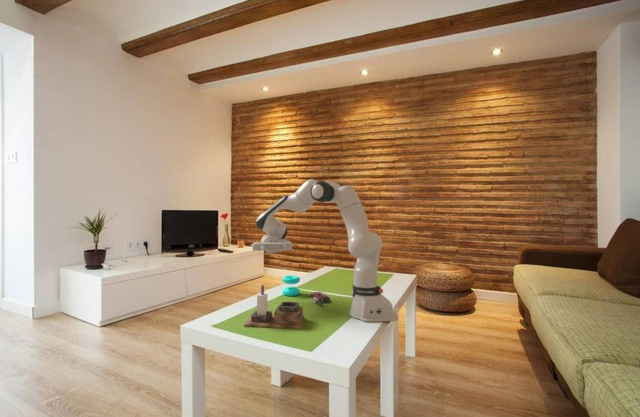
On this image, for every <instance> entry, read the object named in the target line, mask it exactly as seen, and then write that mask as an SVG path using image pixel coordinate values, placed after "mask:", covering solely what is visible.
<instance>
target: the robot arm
mask: <svg viewBox="0 0 640 417" xmlns="http://www.w3.org/2000/svg"><path fill="white" fill-rule="evenodd" d="M315 202H318V203H327V204H330V203H335V204H336V205H337V207H338V209H339V212H340V215H341V218H342V219H343V223H344V226H345V228H346V233H347V237H348V238H347V239H348V244H347V248H348V252H349V253H350V255H352V257H355V258H356V261H355V265H354V266H353V284H352V286H351V287H352V288H351V297H352V300H351V301H352V302H351V306H350V310H349V312H348V313H349V316H350V317H352V318H355V319H358V320H361V321H362V322H365V323H369V322H372V323H375V322H397V320H398V319H399V316H398V313H397V312H396V311H395V310H394V308H393V305H392V303H391V301H390V299H388V298H387V297H386V296H384V295H383V293H384V289H383V288H382V287H381V286H380V285H378V267H379V262H380V256H381V250H382V247H383V240H382V238H381V236H380V235H379V234H378V233H375V232H373V231H370V229H369V225H368V216H367V214H366V211H365V209H364V207H363V203H362V202H361V199H360V197H359V196H358V194H357V192H356V191H355V189H354V187H353V186H352V185H343V184H342V183H340V182H337V181H331V180H318V181H317V180H315V179H313V178H310V179H307V180H306V181H305V182H304V183H302V184H301V185H300V186H299V187H298V188H297V190H296V191H295V192H294V193H291V194H286V195H285V194H284V195H283V196H282V197H281V198H279V199H278V200H276V202H275V203H273V204H272V205H271V206H270V207H269V208H268V209H266V210H265V211H264V212H262V213H261V214H259V215H258V216H257V218H256V220H255V224H256V228H257V229H258V230H260V231H262V232H264V233H265V235H263V236H262V237H261V239H260V241H255V242H253V243H252V244H250V246H251V247H252V251H254V252H257V251H264V252H266V253H268V254H274V253H278V252H286V251H292V250H293V243H292V242H291V241H289V240H288V239H287V238H286V237H287V236H288V232H289V230H288V225H286V224H285V223H283V222H282V221H280V220H279V219H278V218H275V217H274V215H275V214H277V213H278V211H280V210H290V211H293V212H298V213H303V212H306V211H307V210H309V209H310V207H312V206H313V204H314V203H315Z"/></svg>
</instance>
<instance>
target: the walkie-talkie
mask: <svg viewBox="0 0 640 417" xmlns="http://www.w3.org/2000/svg"><path fill="white" fill-rule="evenodd" d="M310 297H311V298H312V302H313V303H314V304H318V305H319V306H320V307H324V303H325V304H326V303H327V304H328V303H330V302H331V297H329V296H328V295H327V294H326V293H324V292H322V291H315V292H312V293H311V294H310Z"/></svg>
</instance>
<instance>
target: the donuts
mask: <svg viewBox="0 0 640 417" xmlns="http://www.w3.org/2000/svg"><path fill="white" fill-rule="evenodd" d="M282 281H283V284H284V283H285V284H286V285H296V284H298V283H300V281H301V278H300V276H298V275H286V276H283V278H282ZM300 293H301V292H300V289H299V288H298V287H297V286H287V287H284V288H283V289H282V294H283V295H285V296H287V297H294V296H298V295H299V294H300Z"/></svg>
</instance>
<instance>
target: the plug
mask: <svg viewBox="0 0 640 417" xmlns="http://www.w3.org/2000/svg"><path fill="white" fill-rule="evenodd" d="M268 294H269V293H268V292H265V285H264V284H261V286H260V292H258V293H257V295H256V311H257V316H267V311H268Z"/></svg>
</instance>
